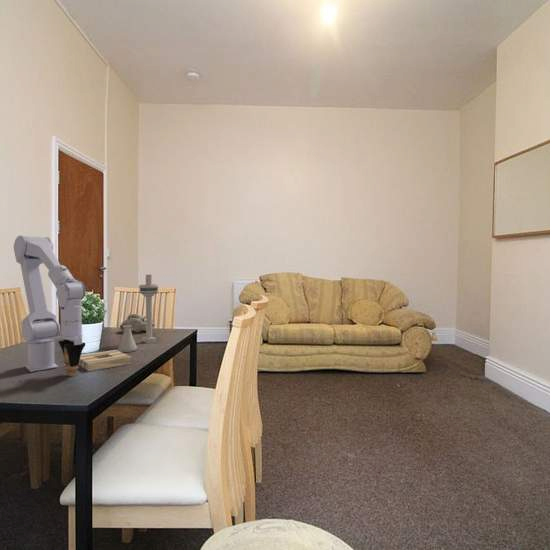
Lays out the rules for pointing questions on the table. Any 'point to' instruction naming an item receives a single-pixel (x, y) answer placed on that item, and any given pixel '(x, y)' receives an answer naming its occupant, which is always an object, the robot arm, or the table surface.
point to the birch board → (104, 360)
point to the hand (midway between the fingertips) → (71, 364)
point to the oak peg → (70, 370)
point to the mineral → (136, 322)
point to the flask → (127, 340)
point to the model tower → (148, 306)
